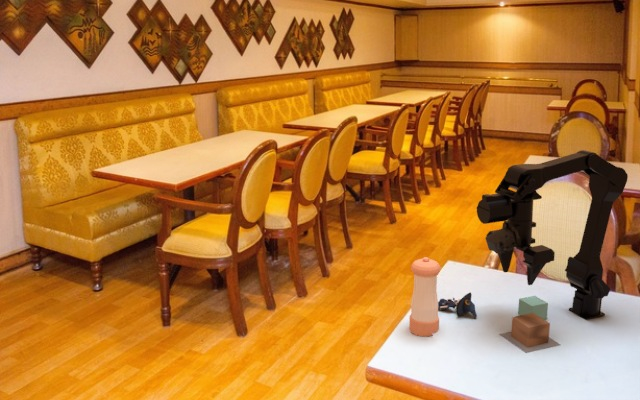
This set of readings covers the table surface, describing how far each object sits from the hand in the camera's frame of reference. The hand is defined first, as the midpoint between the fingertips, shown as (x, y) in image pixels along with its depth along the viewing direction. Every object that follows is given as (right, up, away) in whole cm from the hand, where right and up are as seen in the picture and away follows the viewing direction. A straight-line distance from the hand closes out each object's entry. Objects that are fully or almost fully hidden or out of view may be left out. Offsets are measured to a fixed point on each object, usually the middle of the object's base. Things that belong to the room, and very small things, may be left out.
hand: (517, 278), depth 150 cm
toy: (-14, -11, +12) cm, 21 cm away
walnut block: (+1, -14, -5) cm, 15 cm away
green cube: (+6, -11, +7) cm, 15 cm away
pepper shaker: (-23, -13, +2) cm, 27 cm away
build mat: (+1, -14, -5) cm, 15 cm away
